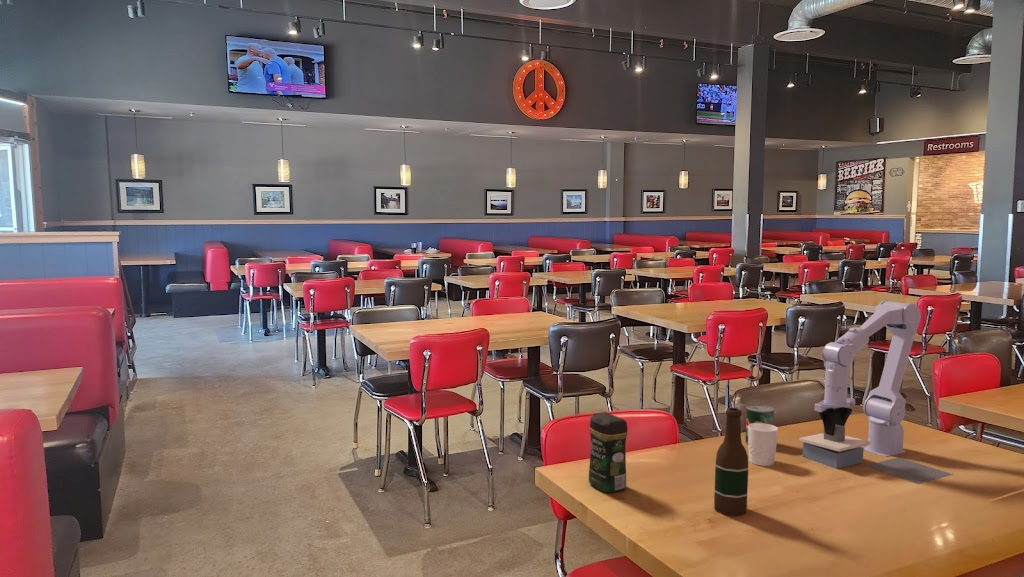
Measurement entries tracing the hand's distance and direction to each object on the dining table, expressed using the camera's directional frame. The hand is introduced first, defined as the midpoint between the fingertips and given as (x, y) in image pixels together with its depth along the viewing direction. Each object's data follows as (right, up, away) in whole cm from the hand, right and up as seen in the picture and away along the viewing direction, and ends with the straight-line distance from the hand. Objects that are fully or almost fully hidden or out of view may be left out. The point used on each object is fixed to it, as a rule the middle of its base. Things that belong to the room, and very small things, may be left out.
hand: (833, 433), depth 197 cm
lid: (0, -3, 0) cm, 3 cm away
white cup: (-20, -8, 0) cm, 22 cm away
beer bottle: (-39, -11, -33) cm, 52 cm away
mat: (+17, -9, -7) cm, 20 cm away
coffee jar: (-66, -10, -19) cm, 69 cm away
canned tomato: (-15, -6, +16) cm, 23 cm away
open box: (0, -8, +1) cm, 8 cm away
